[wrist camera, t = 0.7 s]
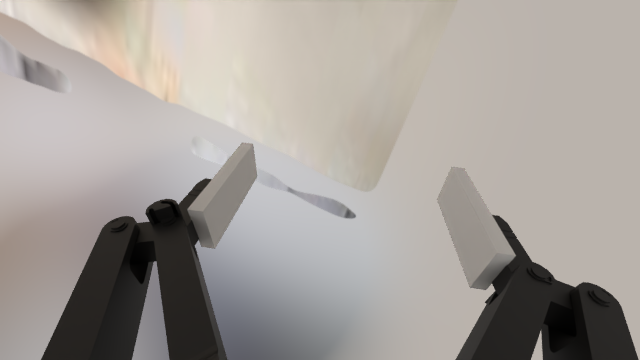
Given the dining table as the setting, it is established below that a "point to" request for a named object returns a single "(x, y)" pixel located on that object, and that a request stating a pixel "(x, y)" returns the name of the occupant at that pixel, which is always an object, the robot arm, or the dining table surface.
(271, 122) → the dining table surface
